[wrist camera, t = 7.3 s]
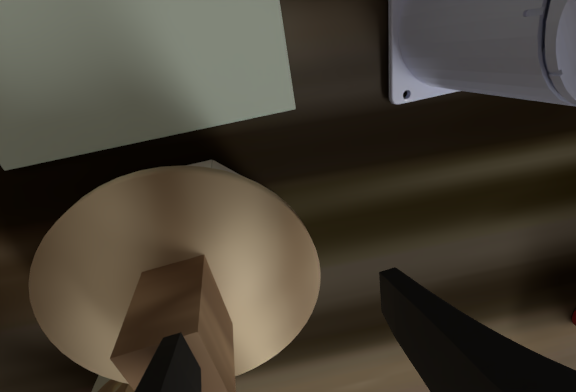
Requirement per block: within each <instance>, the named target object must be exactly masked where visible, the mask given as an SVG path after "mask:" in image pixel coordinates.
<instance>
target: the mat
mask: <svg viewBox="0 0 576 392" xmlns="http://www.w3.org/2000/svg"><path fill="white" fill-rule="evenodd" d="M293 109H296V108H295V101H294V94H293V88H292V81H291V74H290V68H289V61H288V54H287V48H286V41H285V34H284V28H283V21H282V14H281V8H280V1H279V0H0V165H1V166H2V168H3V169H4V171H6V170H10V169H15V168H20V167H25V166H29V165H34V164H39V163H43V162H48V161H53V160H58V159H62V158H67V157H72V156H76V155H81V154H86V153H91V152H95V151H100V150H105V149H109V148H114V147H119V146H124V145H128V144H133V143H138V142H142V141H147V140H152V139H157V138H161V137H166V136H171V135H175V134H180V133H185V132H190V131H194V130H199V129H204V128H208V127H213V126H218V125H223V124H227V123H232V122H237V121H241V120H246V119H251V118H256V117H260V116H265V115H270V114H274V113H279V112H284V111H289V110H293Z"/></svg>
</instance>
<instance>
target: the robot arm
mask: <svg viewBox="0 0 576 392" xmlns="http://www.w3.org/2000/svg"><path fill="white" fill-rule="evenodd" d="M388 27H389V100H390V102H391V103H393V104H403V103H407V102H412V101H416V100H421V99H425V98H430V97H435V96H439V95H444V94H448V93H453V92H457V91H467V92H474V93H482V94H489V95H496V96H504V97H511V98H518V99H526V100H533V101H540V102H547V103H555V104H562V105H569V106H576V0H388ZM405 91H407V95H406V97H405V98H403V93H404V92H405ZM379 275H380V292H381V309H382V313H383V315H384V317H385V319H386V321H387V323H388V325H389V327H390V329H391V331H392V332H393V334H394V336H395V338H396V340H397V341H398V343H399V344H400V346H401V347H402V349H403V351H404V352H405V354H406V355H407V357H408V358H409V360H410V361H411V363H412V364H413V366H414V367H415V369H416V370H417V372H418V373H419V375H420V376H421V378H422V379H423V381H424V382H425V384H426V385H427V387H428V388H429V390H430V391H431V392H576V370H573V369H571V368H569V367H567V366H564V365H562V364H560V363H558V362H555V361H553V360H551V359H548V358H546V357H544V356H542V355H540V354H538V353H536V352H534V351H532V350H530V349H528V348H526V347H524V346H522V345H520V344H518V343H516V342H514V341H512V340H510V339H508V338H506V337H504V336H503V335H501V334H499V333H497V332H495V331H493V330H492V329H490V328H488V327H486V326H485V325H483V324H481V323H479V322H478V321H476V320H474V319H473V318H471V317H469V316H468V315H466V314H464V313H463V312H461V311H459V310H458V309H456V308H455V307H453V306H452V305H450V304H448V303H447V302H445V301H444V300H442V299H441V298H439V297H438V296H436V295H435V294H433V293H432V292H430V291H429V290H427V289H426V288H424V287H423V286H421V285H420V284H418V283H417V282H415V281H414V280H413V279H411V278H410V277H408V276H407V275H406V274H404V273H403V272H401V271H400V270H398V269H397V268H392V269H388V270H385V271H382V272H379ZM134 392H201V368H200V366H199V364H198V362H197V360H196V359H195V357H194V355H193V353H192V351H191V349H190V348H189V346H188V344H187V342H186V340H185V338H184V337H183V335H182V333H181V332H180V333H177V334H173V335H170V336H167V337H164V338H163V339H162V340H161V342H160V344H159V346H158V348H157V350H156V352H155V353H154V355H153V357H152V359H151V361H150V363H149V365H148V367H147V369H146V371H145V373H144V375H143V376H142V378H141V380H140V382H139V384H138V386H137V388H136V390H135V391H134Z"/></svg>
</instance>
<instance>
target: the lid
mask: <svg viewBox="0 0 576 392" xmlns="http://www.w3.org/2000/svg"><path fill="white" fill-rule="evenodd" d="M319 289H320V264H319V259H318V255H317V252H316V248H315V246H314V244H313V242H312V240H311V237H310V235H309V233H308V231H307V229H306V227H305V226H304V224H303V223H302V221H301V220H300V218H299V217H298V215H297V214H296V213H295V212H294V210H293V209H292V208H291V207H290V206H289V205H288V204H287V203H286V202H285V201H284V200H282V199H281V198H280V197H279V196H278V195H276V194H275V193H274V192H272V191H271V190H269V189H267V188H266V187H264V186H262V185H261V184H259V183H257V182H255V181H253V180H250V179H248V178H246V177H244V176H241V175H238V174H234V173H231V172H228V171H224V170H220V169H214V168H208V167H201V166H183V165H181V166H165V167H157V168H151V169H146V170H140V171H137V172H133V173H130V174H127V175H124V176H121V177H118V178H116V179H114V180H111V181H109V182H107V183H105V184H103V185H101V186H99V187H97V188H96V189H94V190H93V191H91V192H89V193H88V194H86V195H85V196H83V197H82V198H81V199H80V200H79V201H77V202H76V203H75V204H74V205H73V206H72V207H71V208H69V209H68V210H67V211H66V212H65V213H64V214H63V215H62V216H61V217H60V218H59V219H58V220H57V221H56V223H55V224H54V225H53V226H52V227H51V229H50V230H49V231H48V232H47V234H46V235H45V236H44V238H43V240H42V241H41V243H40V245H39V247H38V249H37V250H36V253H35V256H34V259H33V262H32V265H31V268H30V276H29V295H30V302H31V305H32V309H33V312H34V315H35V317H36V319H37V321H38V323H39V325H40V327H41V329H42V330H43V332H44V333H45V334H46V336H47V337H48V338H49V340H50V341H51V342H52V343H53V344H54V345H55V346H56V347H57V348H58V349H59V350H60V351H61V352H62V353H63V354H64V355H66V356H67V357H68V358H70V359H71V360H72V361H74V362H75V363H77V364H79V365H80V366H82V367H84V368H86V369H87V370H89V371H92V372H94V373H96V374H98V375H101V376H103V377H106V378H109V379H112V380H115V381H118V382H122V383H127V384H129V385H130V386H131V387H132V389H133V390H134V391H135V390H136V388H137V386H138V384H139V382H140V380H141V378H142V376H143V375H144V373H145V371H146V369H147V367H148V365H149V363H150V361H151V359H152V357H153V355H154V353H155V352H156V350H157V348H158V346H159V344H160V342H161V340H162V339H163V338H164V337H167V336H170V335H173V334H177V333H180V332H181V333H182V335H183V337H184V338H185V340H186V342H187V344H188V346H189V348H190V349H191V351H192V353H193V355H194V357H195V359H196V360H197V362H198V364H199V366H200V368H201V392H236V389H235V376H237V375H240V374H243V373H245V372H247V371H249V370H251V369H253V368H255V367H257V366H259V365H261V364H262V363H264V362H266V361H268V360H269V359H270V358H272V357H273V356H275V355H276V354H277V353H279V352H280V351H281V350H282V349H284V348H285V347H286V346H287V345H288V344H289V343H290V342H291V341H292V340H293V339H294V338H295V337H296V336H297V335H298V334H299V332H300V331H301V329H302V328H303V327H304V325H305V324H306V322H307V321H308V319H309V317H310V315H311V313H312V311H313V309H314V306H315V304H316V301H317V297H318V293H319Z"/></svg>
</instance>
